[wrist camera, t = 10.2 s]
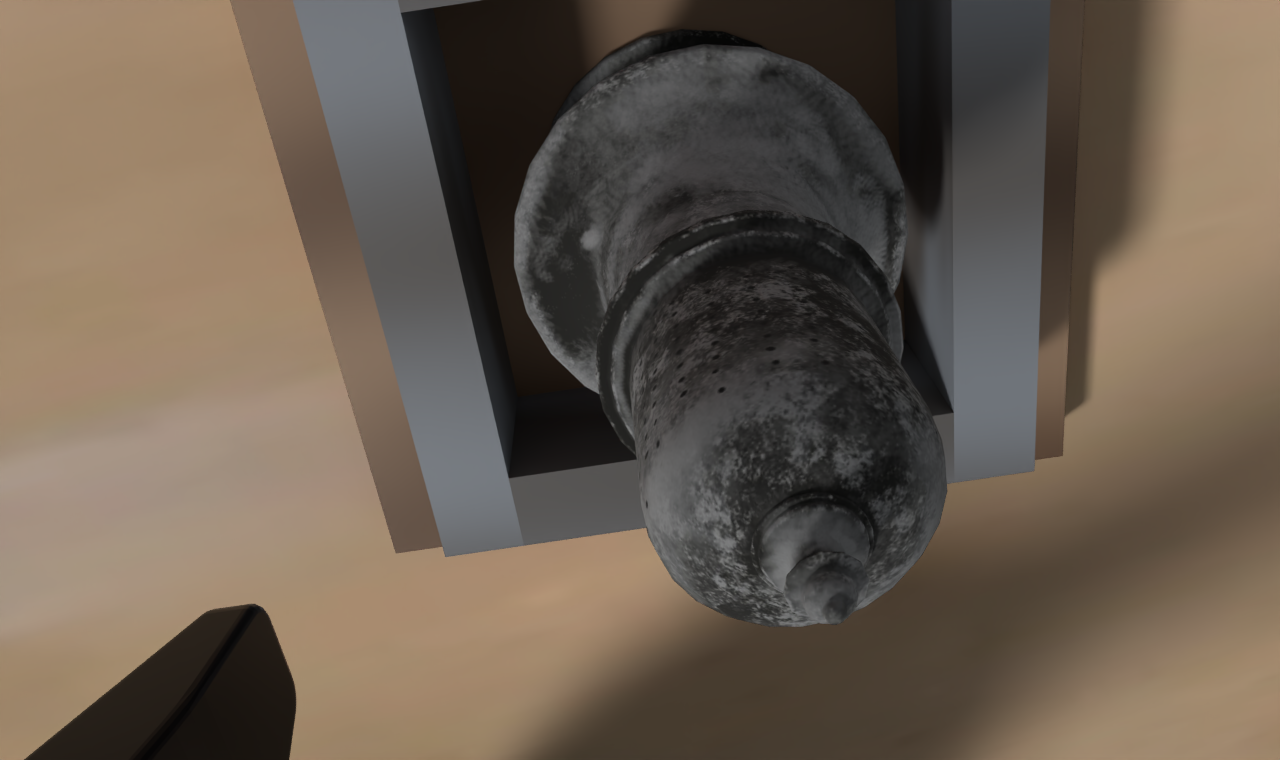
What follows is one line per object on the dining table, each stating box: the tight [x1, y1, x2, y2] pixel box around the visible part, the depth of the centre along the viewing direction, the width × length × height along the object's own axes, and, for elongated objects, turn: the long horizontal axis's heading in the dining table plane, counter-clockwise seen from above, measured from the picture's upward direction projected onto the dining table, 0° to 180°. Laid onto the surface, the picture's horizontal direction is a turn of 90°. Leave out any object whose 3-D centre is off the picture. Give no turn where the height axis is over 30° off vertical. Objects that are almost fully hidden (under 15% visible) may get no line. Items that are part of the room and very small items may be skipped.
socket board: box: [230, 0, 1085, 557], centre depth 18 cm, size 14×14×4 cm
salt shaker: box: [514, 29, 947, 627], centre depth 13 cm, size 6×6×12 cm
